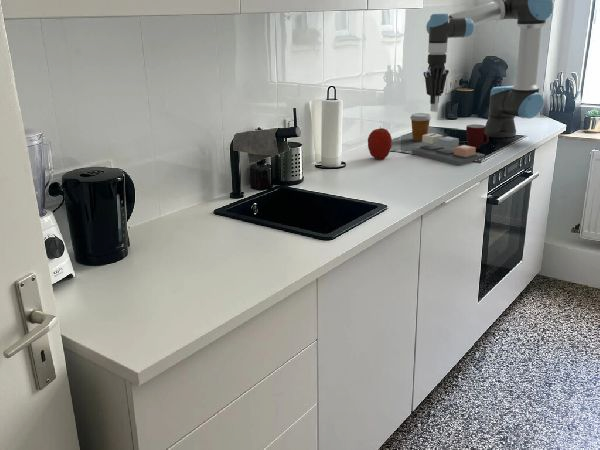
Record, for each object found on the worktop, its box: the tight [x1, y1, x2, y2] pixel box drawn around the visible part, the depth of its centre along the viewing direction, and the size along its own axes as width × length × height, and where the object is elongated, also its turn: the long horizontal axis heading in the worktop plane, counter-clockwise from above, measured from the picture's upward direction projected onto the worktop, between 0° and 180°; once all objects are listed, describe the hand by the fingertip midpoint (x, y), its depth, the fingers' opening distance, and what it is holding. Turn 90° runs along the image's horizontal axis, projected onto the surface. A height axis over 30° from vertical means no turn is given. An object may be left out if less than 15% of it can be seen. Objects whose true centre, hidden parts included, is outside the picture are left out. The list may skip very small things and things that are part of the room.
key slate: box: [437, 136, 460, 148], centre depth 249 cm, size 6×6×3 cm
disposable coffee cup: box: [410, 112, 432, 142], centre depth 279 cm, size 10×10×12 cm
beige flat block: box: [454, 144, 477, 157], centre depth 243 cm, size 6×6×3 cm
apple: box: [367, 126, 393, 160], centre depth 248 cm, size 10×10×14 cm
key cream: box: [421, 132, 444, 145], centre depth 256 cm, size 6×6×3 cm
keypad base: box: [411, 143, 486, 167], centre depth 251 cm, size 16×26×3 cm, turn 35°
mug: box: [465, 123, 490, 150], centre depth 261 cm, size 10×8×10 cm
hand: (434, 111), depth 251 cm, fingers closed
